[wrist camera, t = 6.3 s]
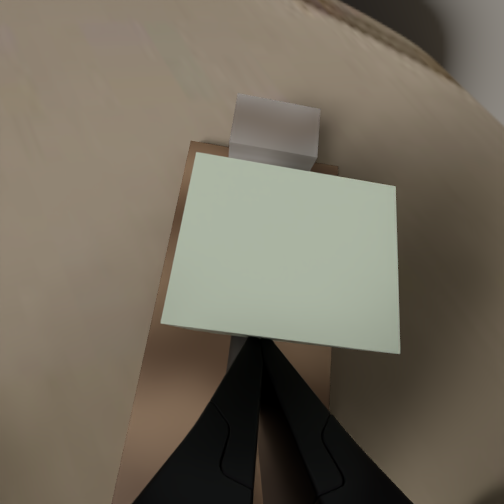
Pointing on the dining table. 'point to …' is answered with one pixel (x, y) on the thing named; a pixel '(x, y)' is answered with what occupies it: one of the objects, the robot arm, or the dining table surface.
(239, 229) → the pale green box
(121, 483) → the cord board
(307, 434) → the robot arm
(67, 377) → the dining table surface
